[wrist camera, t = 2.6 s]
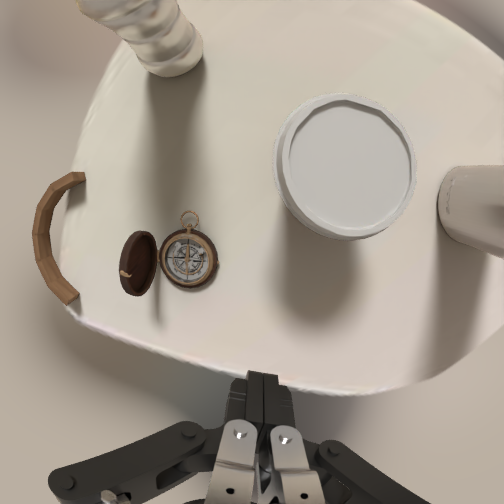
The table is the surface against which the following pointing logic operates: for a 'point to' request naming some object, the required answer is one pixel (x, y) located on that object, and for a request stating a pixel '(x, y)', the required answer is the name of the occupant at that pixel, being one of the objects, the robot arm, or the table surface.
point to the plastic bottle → (150, 32)
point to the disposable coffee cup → (344, 166)
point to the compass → (167, 259)
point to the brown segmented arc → (43, 237)
